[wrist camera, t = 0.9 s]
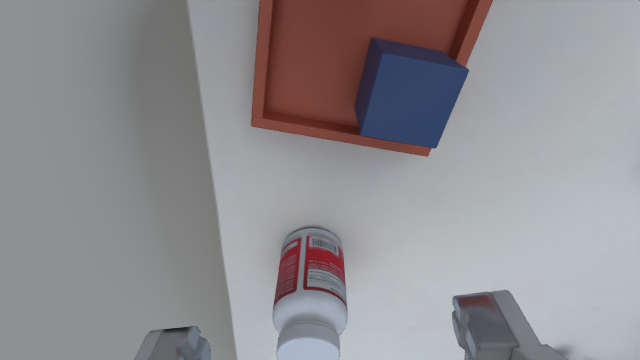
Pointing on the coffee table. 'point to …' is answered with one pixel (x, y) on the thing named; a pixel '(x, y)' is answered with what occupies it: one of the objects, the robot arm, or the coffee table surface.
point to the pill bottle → (310, 297)
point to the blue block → (407, 92)
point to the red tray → (344, 58)
